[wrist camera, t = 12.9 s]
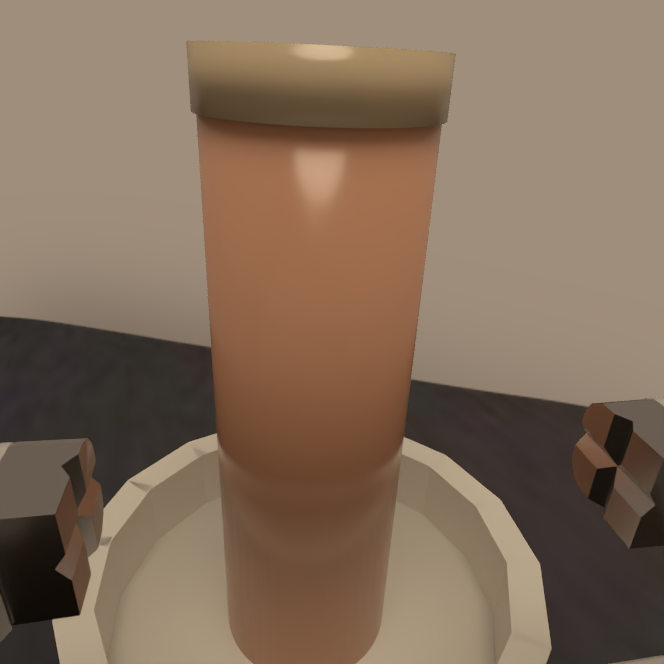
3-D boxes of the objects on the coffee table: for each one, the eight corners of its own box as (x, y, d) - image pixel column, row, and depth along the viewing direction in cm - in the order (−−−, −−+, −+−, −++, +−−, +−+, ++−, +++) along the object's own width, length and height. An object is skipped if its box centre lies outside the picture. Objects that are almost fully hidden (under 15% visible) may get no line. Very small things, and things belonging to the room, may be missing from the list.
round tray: (1, 981, 11) (-40, 913, 10) (122, 492, 23) (112, 430, 22) (628, 846, 13) (669, 775, 12) (436, 466, 26) (444, 409, 24)
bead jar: (224, 697, 15) (174, 37, 8) (225, 549, 20) (194, 44, 13) (404, 671, 16) (503, 53, 9) (365, 535, 21) (410, 55, 14)
